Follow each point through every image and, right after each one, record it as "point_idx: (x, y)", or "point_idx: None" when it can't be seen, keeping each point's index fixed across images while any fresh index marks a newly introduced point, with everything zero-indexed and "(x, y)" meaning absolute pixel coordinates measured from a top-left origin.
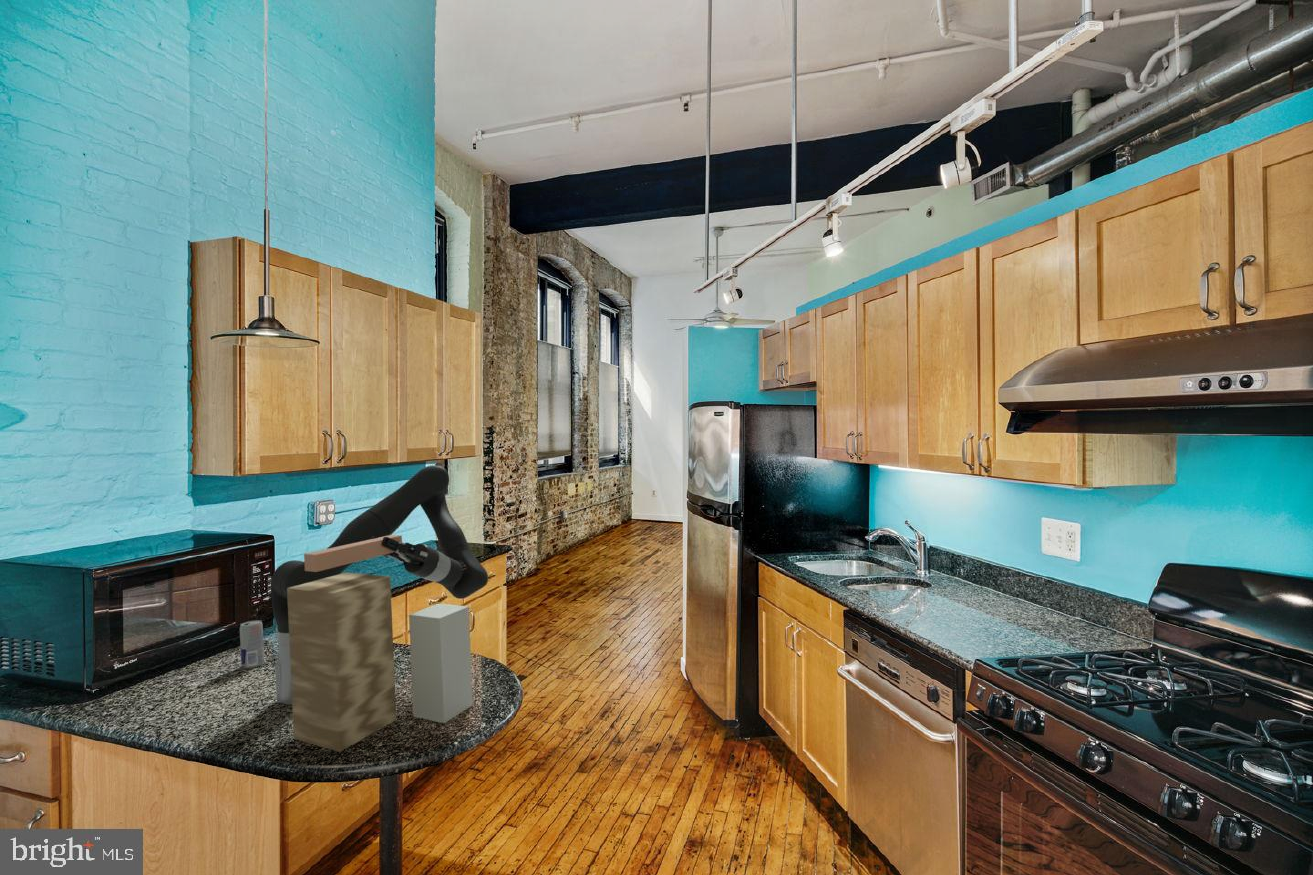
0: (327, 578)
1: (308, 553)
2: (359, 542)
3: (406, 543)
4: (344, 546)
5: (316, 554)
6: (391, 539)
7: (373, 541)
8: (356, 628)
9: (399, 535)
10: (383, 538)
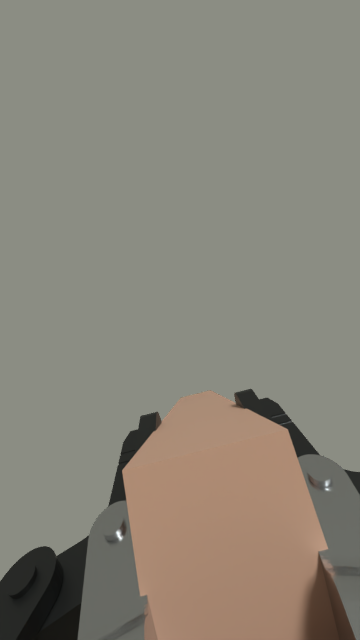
0: None
1: (206, 391)
2: (212, 400)
3: (36, 554)
4: (199, 398)
5: (182, 397)
6: (137, 445)
7: (172, 414)
8: None
9: (151, 462)
10: (158, 418)
